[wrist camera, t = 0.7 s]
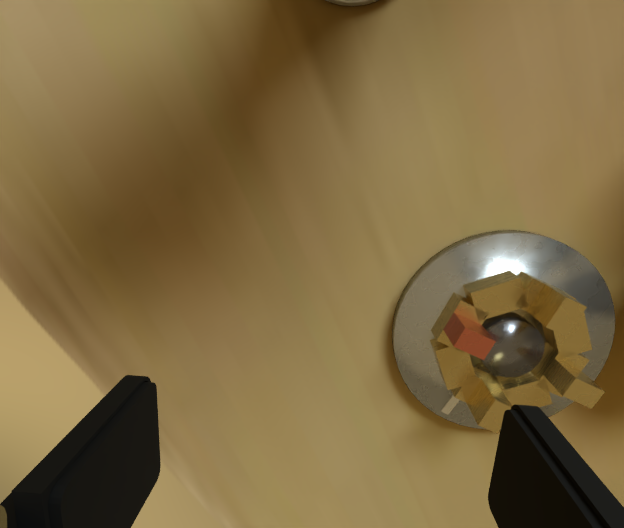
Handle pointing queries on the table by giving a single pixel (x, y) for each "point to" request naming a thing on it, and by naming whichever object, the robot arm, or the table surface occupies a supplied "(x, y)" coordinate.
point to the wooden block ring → (478, 342)
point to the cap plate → (481, 267)
